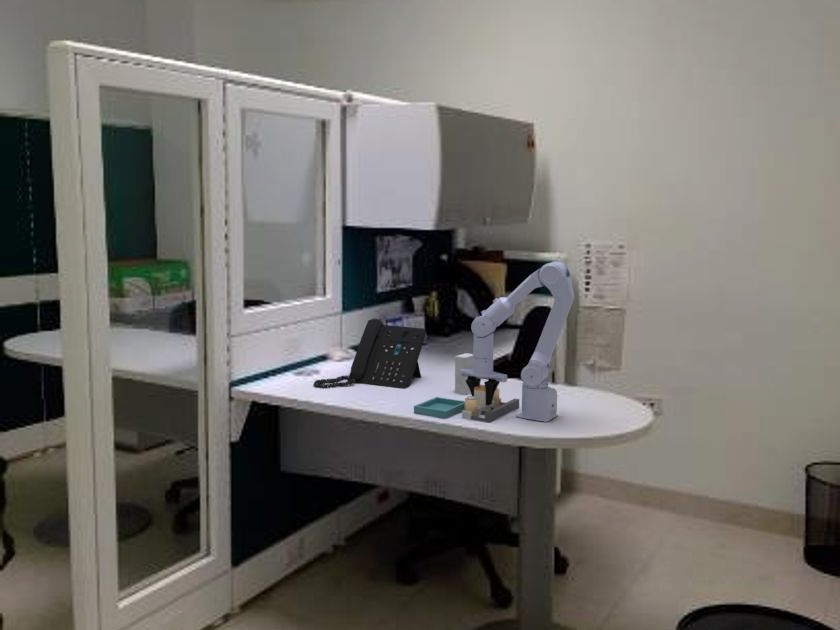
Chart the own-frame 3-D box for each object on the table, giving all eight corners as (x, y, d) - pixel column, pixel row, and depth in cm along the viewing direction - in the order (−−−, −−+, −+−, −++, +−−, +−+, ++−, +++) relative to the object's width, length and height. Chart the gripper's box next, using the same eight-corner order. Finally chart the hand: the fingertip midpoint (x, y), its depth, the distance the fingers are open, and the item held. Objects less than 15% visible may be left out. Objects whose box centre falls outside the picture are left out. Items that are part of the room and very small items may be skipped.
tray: (467, 408, 232) (467, 401, 232) (445, 418, 222) (445, 411, 222) (436, 403, 238) (436, 396, 238) (413, 413, 227) (413, 406, 227)
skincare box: (465, 389, 256) (466, 352, 254) (476, 391, 253) (476, 354, 251) (454, 392, 251) (454, 355, 250) (465, 395, 249) (465, 357, 247)
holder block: (519, 407, 234) (519, 399, 234) (489, 422, 218) (489, 413, 218) (492, 403, 239) (493, 395, 238) (462, 417, 223) (462, 409, 223)
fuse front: (479, 416, 225) (479, 396, 224) (473, 418, 222) (473, 399, 221) (468, 414, 227) (468, 394, 226) (462, 417, 224) (462, 397, 223)
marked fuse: (490, 410, 231) (491, 386, 230) (484, 413, 228) (485, 388, 227) (479, 408, 233) (480, 384, 232) (473, 411, 230) (474, 387, 228)
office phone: (308, 387, 258) (307, 326, 255) (352, 370, 284) (351, 314, 281) (389, 397, 246) (389, 333, 243) (426, 378, 272) (427, 320, 269)
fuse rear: (501, 405, 236) (501, 386, 236) (495, 408, 233) (496, 389, 233) (490, 403, 238) (490, 385, 238) (484, 406, 235) (485, 387, 235)
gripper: (512, 357, 227) (511, 403, 229) (467, 352, 235) (467, 397, 237) (501, 361, 221) (500, 409, 223) (455, 356, 229) (455, 402, 231)
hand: (482, 403), depth 230 cm, fingers closed on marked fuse, 4 cm apart
